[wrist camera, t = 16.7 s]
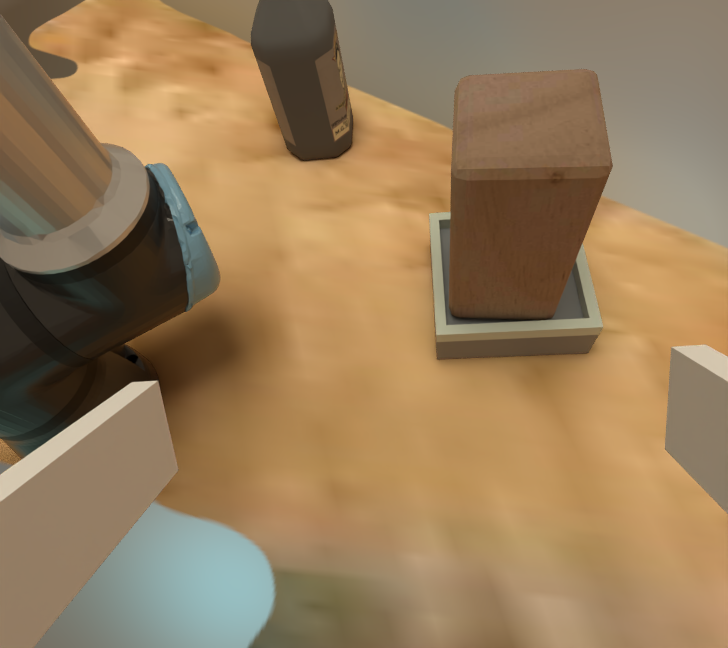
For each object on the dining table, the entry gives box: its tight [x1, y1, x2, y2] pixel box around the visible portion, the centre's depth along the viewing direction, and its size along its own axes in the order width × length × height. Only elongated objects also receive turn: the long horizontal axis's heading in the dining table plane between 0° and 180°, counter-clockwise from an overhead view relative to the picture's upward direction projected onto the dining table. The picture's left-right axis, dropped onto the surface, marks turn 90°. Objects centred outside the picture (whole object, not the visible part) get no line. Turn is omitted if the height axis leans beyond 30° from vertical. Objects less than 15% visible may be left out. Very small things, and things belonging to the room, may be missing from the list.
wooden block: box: [449, 69, 613, 320], centre depth 41 cm, size 10×10×20 cm
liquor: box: [251, 0, 353, 160], centre depth 57 cm, size 9×9×30 cm
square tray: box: [429, 212, 603, 359], centre depth 51 cm, size 15×15×6 cm
